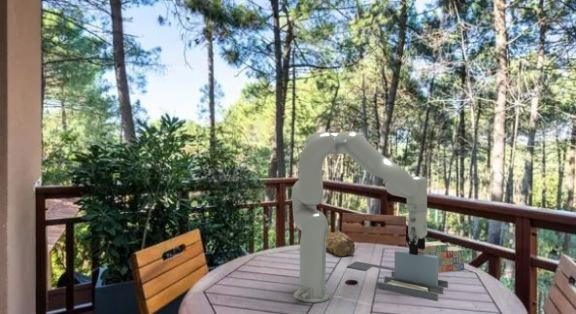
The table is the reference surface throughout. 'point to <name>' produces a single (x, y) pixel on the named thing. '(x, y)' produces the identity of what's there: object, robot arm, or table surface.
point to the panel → (416, 267)
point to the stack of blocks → (445, 256)
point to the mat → (366, 266)
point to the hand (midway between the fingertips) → (417, 251)
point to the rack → (413, 291)
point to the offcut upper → (408, 285)
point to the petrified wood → (340, 244)
